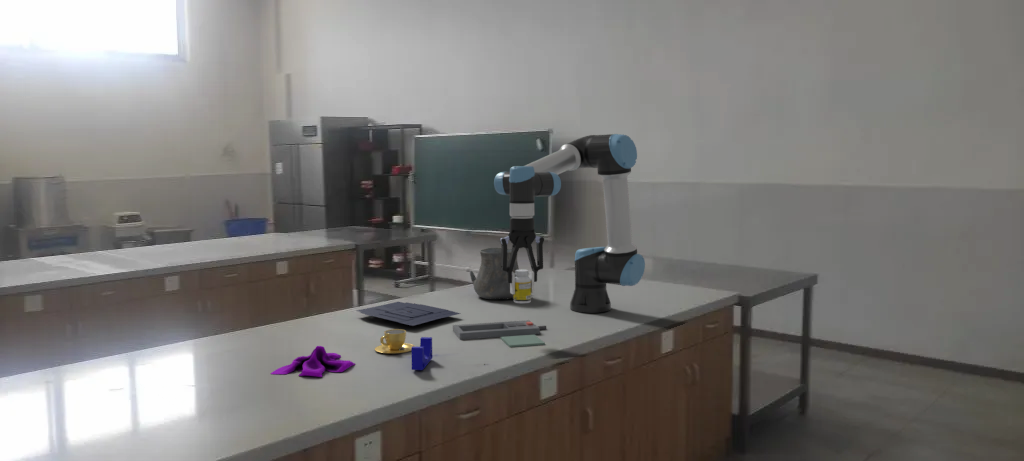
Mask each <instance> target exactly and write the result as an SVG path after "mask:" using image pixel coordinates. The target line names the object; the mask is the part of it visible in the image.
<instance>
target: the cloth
mask: <svg viewBox="0 0 1024 461" xmlns="http://www.w3.org/2000/svg"><path fill="white" fill-rule="evenodd" d="M340 358H342V355H341V354H338V353H336V352H327V351H326V349H325V347H324V346H322V345H316V346H315V348H314V349H313V350H312V351H311V354H309V355H307V356H305V355H301V356H298V357H296V358H294V359H293V360H292V362H291V363H290V364H288V365H283V366H280V367H279V368H277V369H275V370H273V371H272V372H271V373H270V375H288V374H290V373H292V372H294V371H297V372H300V373H299V374H298V376H299V377H300V376H301V377H304V376H308V377H318V378H323V374H324V373H325V372H330V373H344V372H345V371H346V370H347V369H349V368H351V367H353V366H355V365H356V363H354V362H353V361H351V360H345V359H344V360H342V359H340Z"/></svg>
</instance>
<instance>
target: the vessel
mask: <svg viewBox="0 0 1024 461" xmlns="http://www.w3.org/2000/svg"><path fill="white" fill-rule="evenodd" d="M511 251H512V248H507V266H508V262H509V259H510V255H511ZM479 253H480V266H479V270H478V273H477V276H476V275H475V273H474V272H473V271H472V270H470V271H469V277H470V281H471V282H472V285H473V290H474V292H475V294H476V295H478V297H480V298H481V299H484V300H492V301H493V300H511V299H514V294H511V293H510V283H508V282H507V272H506V271H503V270H502V269H501V247H487V248H483V249H480V250H479ZM516 270H520V268H519V262H518V255H517V256H516V260H515V263H514V267H513V271H512V272H514V273H515V271H516ZM515 277H516V274H515Z"/></svg>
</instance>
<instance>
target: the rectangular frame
mask: <svg viewBox="0 0 1024 461" xmlns="http://www.w3.org/2000/svg"><path fill="white" fill-rule="evenodd" d="M542 330H547V325H536V324H535V323H534V322H532V321H531V320H529V319H528V320H514V321H512V320H511V321H499V322H498V321H497V322H495V321H494V322H483V323H482V322H481V323H467V324H466V323H465V324H453V325H452V332H453V333H454V334H455V336H456V337H457V338H458V339H459V340H473V339H485V338H487V339H489V338H501V337H507V336H521V335H540V333H541V331H542Z"/></svg>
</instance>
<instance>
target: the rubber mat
mask: <svg viewBox="0 0 1024 461" xmlns="http://www.w3.org/2000/svg"><path fill="white" fill-rule="evenodd" d="M500 340H502V341H503V342H504V344H505V345H507V346H508V347H509V348H519V347H534V346H545V345H546V343H545V341H543V340H542V339H541V338H540V337H539V336H537V334H535V335H520V336H506V337H500Z"/></svg>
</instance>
